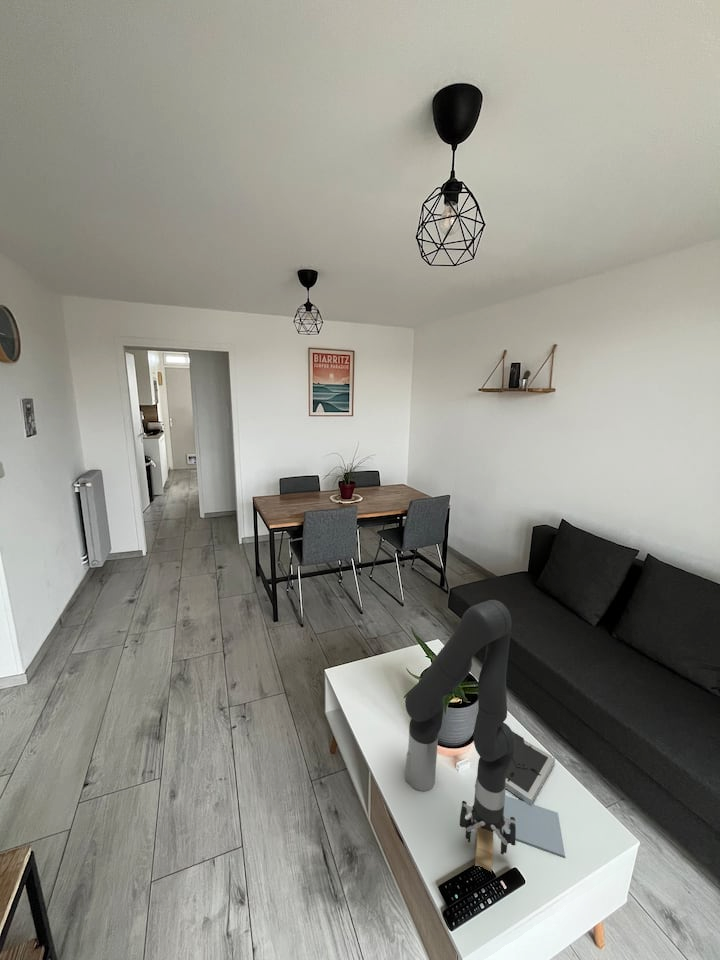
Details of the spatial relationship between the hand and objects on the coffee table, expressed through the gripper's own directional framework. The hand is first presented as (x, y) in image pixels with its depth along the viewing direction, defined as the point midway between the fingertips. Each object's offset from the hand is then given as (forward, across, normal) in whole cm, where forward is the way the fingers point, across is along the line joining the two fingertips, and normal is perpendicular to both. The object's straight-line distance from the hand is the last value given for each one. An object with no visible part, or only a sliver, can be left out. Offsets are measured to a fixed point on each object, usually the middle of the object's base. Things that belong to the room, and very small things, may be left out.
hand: (485, 845), depth 102 cm
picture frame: (+2, +11, +30) cm, 32 cm away
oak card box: (+2, 0, 0) cm, 2 cm away
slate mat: (+2, +13, +12) cm, 18 cm away
